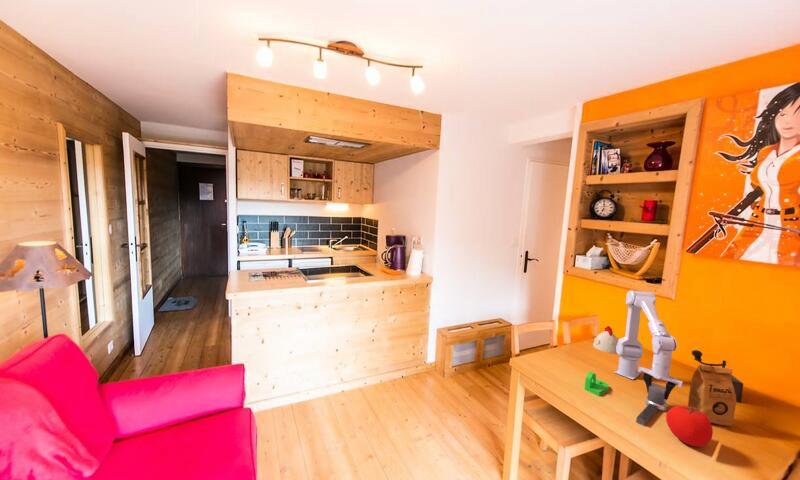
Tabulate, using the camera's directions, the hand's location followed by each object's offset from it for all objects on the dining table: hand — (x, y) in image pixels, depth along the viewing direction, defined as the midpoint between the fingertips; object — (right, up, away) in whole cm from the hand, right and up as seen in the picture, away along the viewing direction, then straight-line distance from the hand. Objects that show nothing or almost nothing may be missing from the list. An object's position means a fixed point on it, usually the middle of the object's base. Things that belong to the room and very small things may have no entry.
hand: (657, 395), depth 135 cm
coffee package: (+15, -7, -7) cm, 18 cm away
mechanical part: (-18, -3, +12) cm, 22 cm away
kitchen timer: (+14, -1, +55) cm, 57 cm away
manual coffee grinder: (+36, -6, +13) cm, 38 cm away
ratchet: (-7, -5, -5) cm, 10 cm away
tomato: (-6, -7, -20) cm, 22 cm away
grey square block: (0, -2, 0) cm, 2 cm away
